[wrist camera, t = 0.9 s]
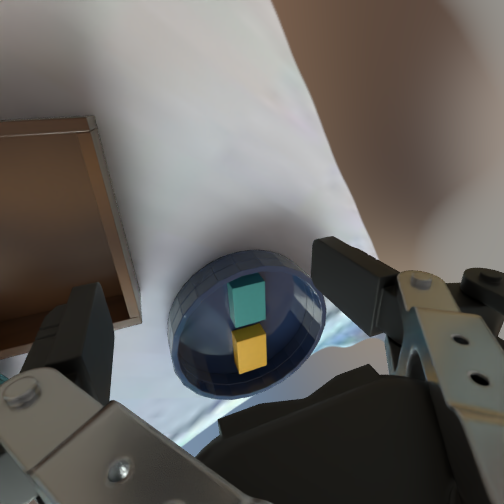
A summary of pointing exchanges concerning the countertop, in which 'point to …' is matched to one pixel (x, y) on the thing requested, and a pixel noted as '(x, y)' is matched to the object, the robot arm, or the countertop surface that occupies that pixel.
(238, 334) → the block
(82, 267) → the box
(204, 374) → the bowl
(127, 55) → the countertop surface
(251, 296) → the block
